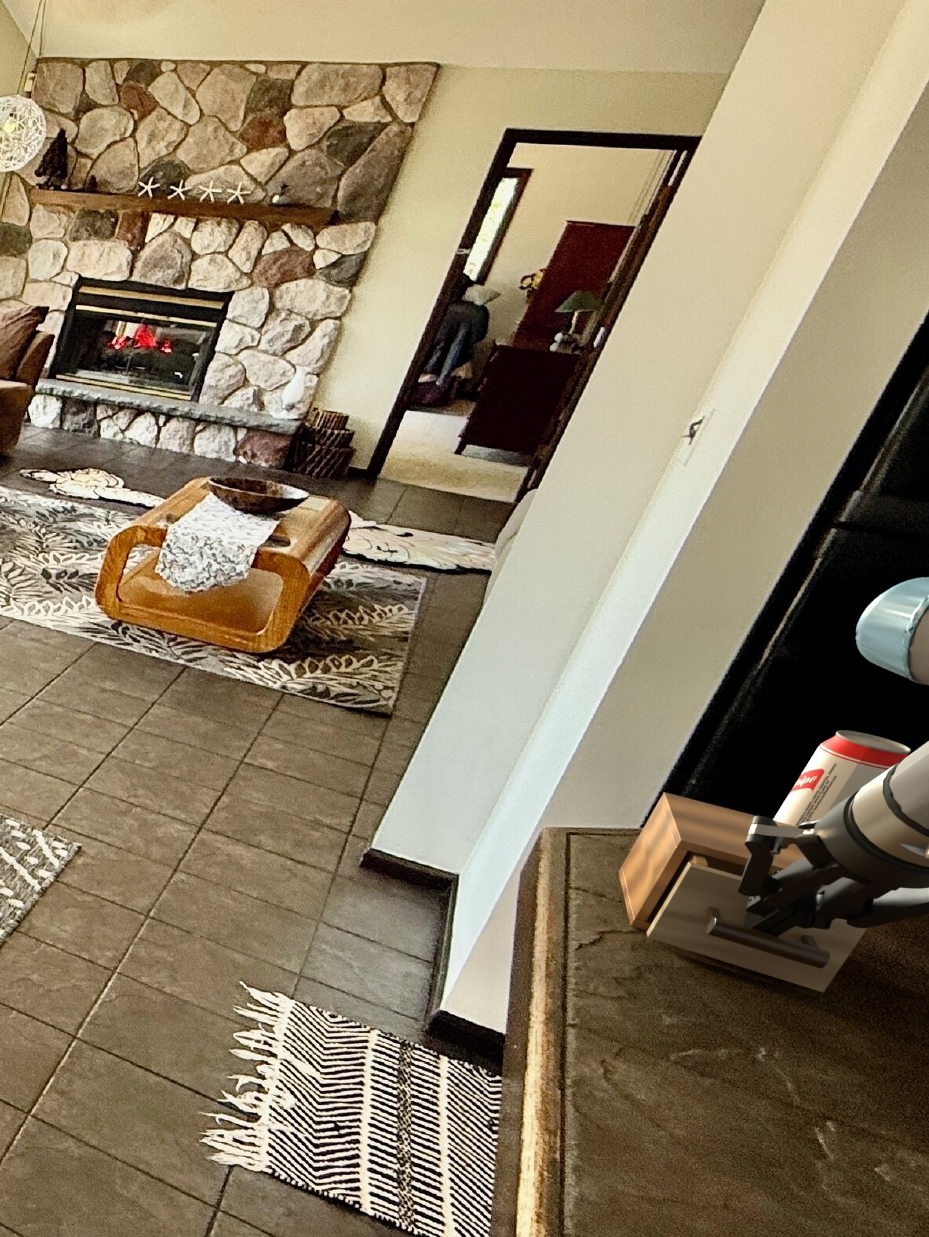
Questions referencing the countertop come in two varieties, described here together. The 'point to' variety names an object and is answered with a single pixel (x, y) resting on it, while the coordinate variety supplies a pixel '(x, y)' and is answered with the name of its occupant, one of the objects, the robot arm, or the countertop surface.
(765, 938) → the drawer
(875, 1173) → the countertop surface
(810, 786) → the beer can
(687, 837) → the cabinet
